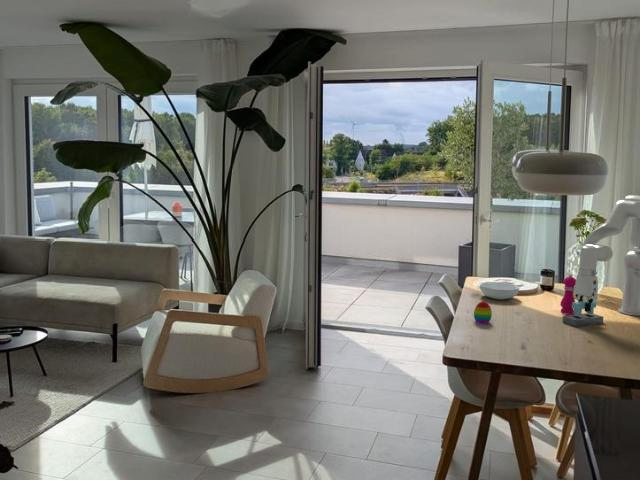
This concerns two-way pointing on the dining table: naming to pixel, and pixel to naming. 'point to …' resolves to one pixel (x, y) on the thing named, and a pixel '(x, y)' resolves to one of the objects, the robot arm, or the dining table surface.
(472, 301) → the dining table surface
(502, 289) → the serving bowl
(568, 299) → the pepper mill
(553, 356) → the dining table surface
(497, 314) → the dining table surface
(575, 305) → the clip
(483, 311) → the decorative egg
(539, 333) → the dining table surface
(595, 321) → the rail
